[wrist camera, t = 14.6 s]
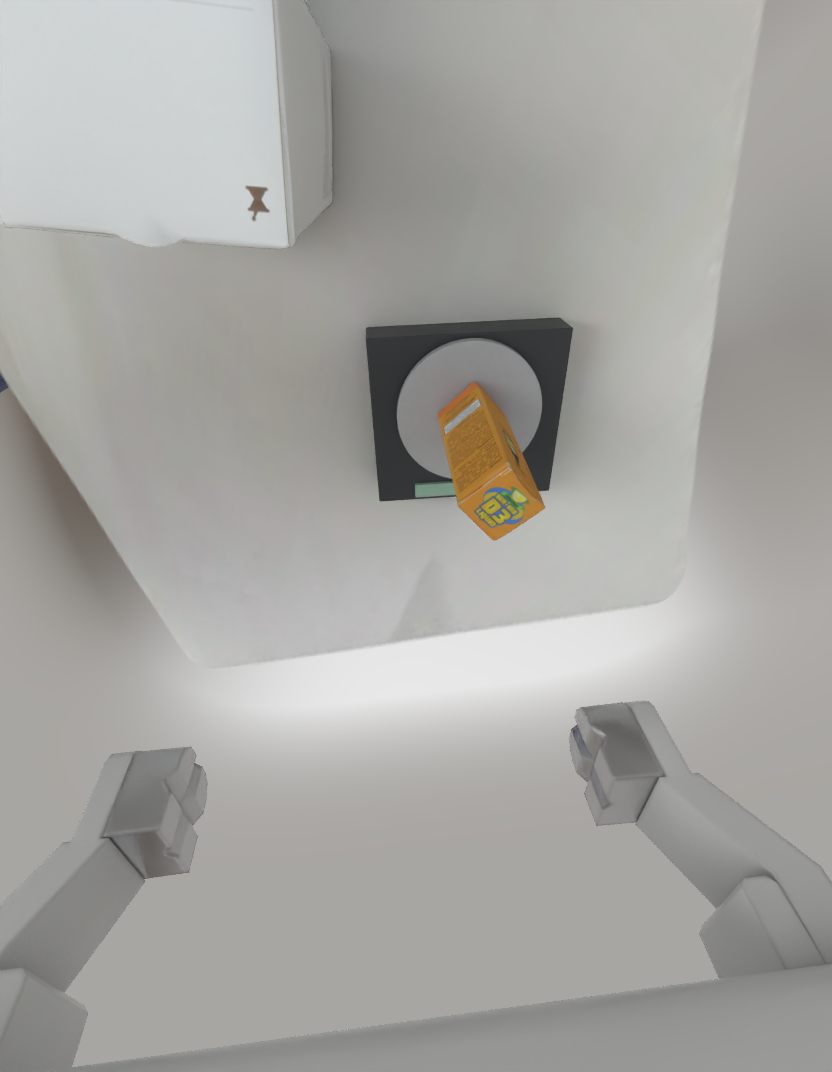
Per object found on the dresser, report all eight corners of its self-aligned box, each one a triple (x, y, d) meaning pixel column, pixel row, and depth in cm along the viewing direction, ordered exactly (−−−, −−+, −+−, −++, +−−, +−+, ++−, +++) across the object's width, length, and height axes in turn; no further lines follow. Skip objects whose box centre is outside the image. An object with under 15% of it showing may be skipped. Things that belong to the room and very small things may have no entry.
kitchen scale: (379, 483, 37) (379, 508, 35) (366, 327, 31) (365, 342, 28) (539, 473, 38) (552, 496, 35) (560, 317, 31) (578, 331, 29)
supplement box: (430, 415, 31) (452, 504, 23) (474, 378, 30) (514, 457, 22) (463, 451, 32) (495, 545, 24) (507, 417, 31) (555, 504, 23)
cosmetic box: (332, 47, 23) (291, -87, 11) (334, 216, 27) (305, 260, 15) (141, 23, 22) (-146, -155, 10) (171, 201, 26) (-8, 235, 14)
